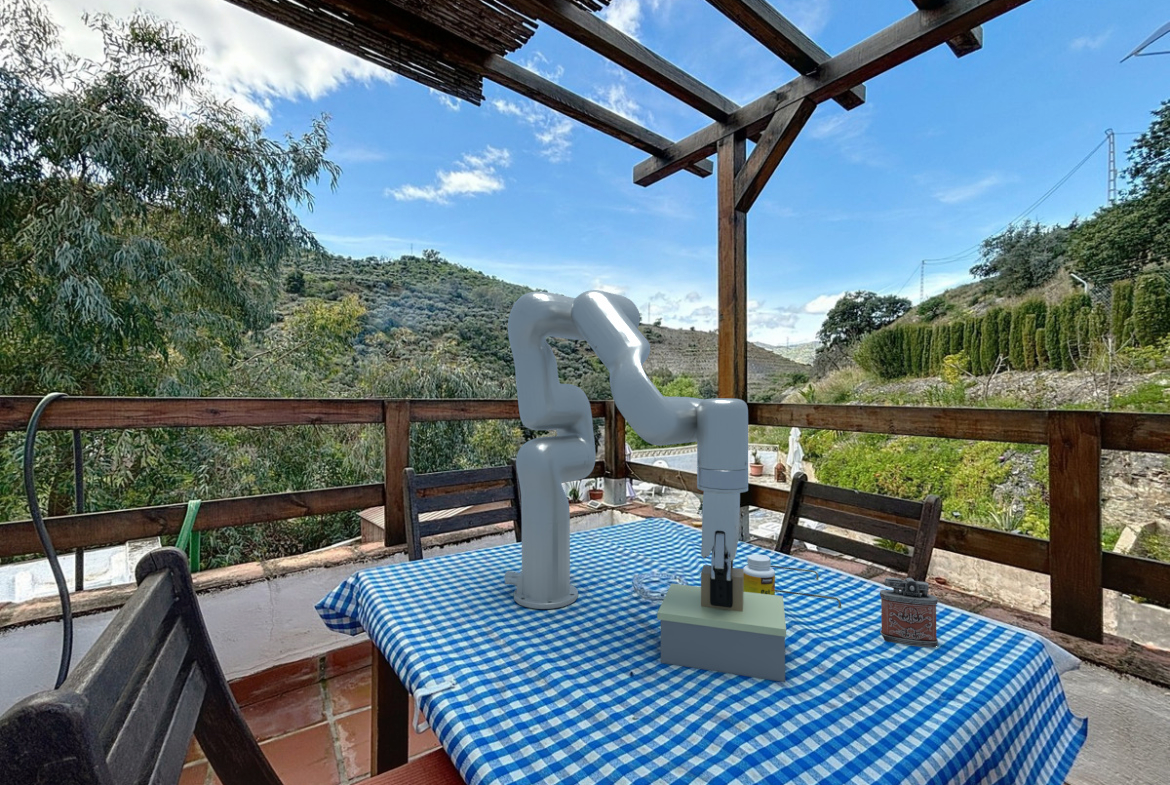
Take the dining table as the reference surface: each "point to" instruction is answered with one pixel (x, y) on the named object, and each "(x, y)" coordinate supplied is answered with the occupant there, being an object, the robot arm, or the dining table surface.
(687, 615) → the lid
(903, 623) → the lighter
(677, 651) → the tub
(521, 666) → the dining table surface
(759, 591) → the supplement bottle
